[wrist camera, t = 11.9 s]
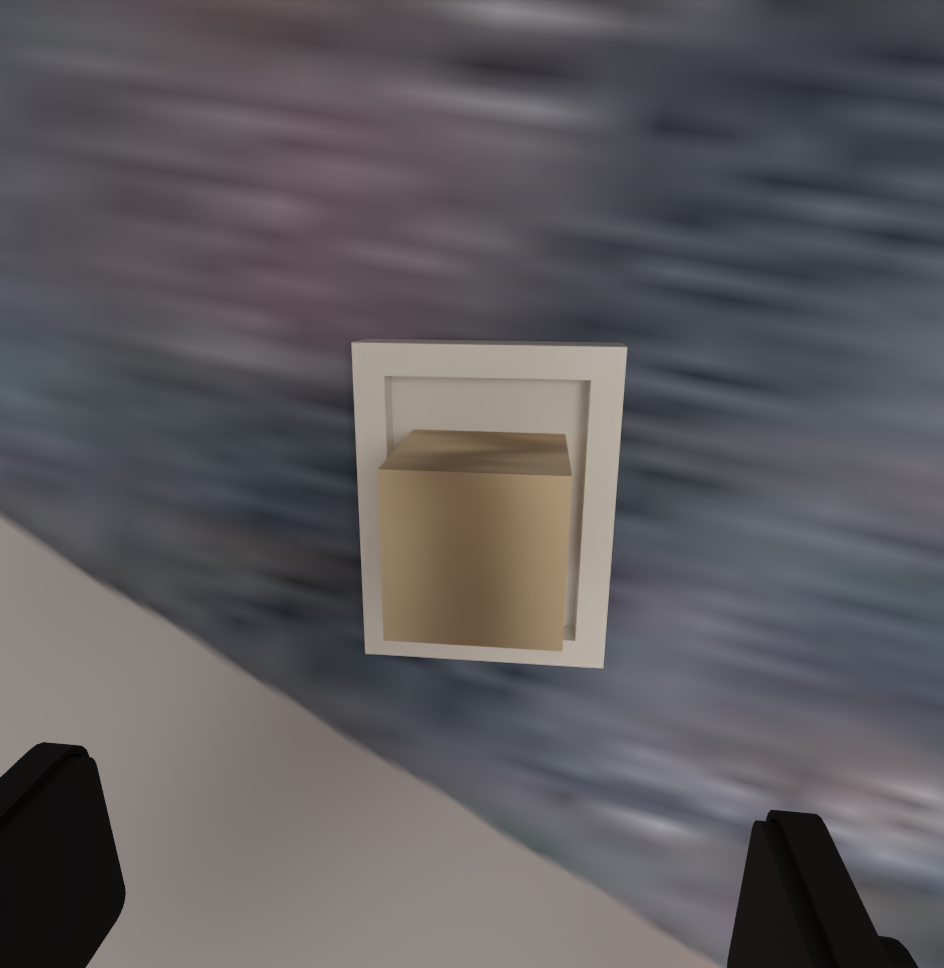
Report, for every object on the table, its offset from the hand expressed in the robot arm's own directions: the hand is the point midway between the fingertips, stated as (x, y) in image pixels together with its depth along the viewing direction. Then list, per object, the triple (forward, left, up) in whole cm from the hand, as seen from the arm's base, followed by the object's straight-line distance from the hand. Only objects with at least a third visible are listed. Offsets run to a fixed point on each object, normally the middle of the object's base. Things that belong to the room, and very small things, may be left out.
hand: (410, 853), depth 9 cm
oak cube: (0, +1, -18) cm, 18 cm away
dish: (0, +1, -19) cm, 19 cm away
